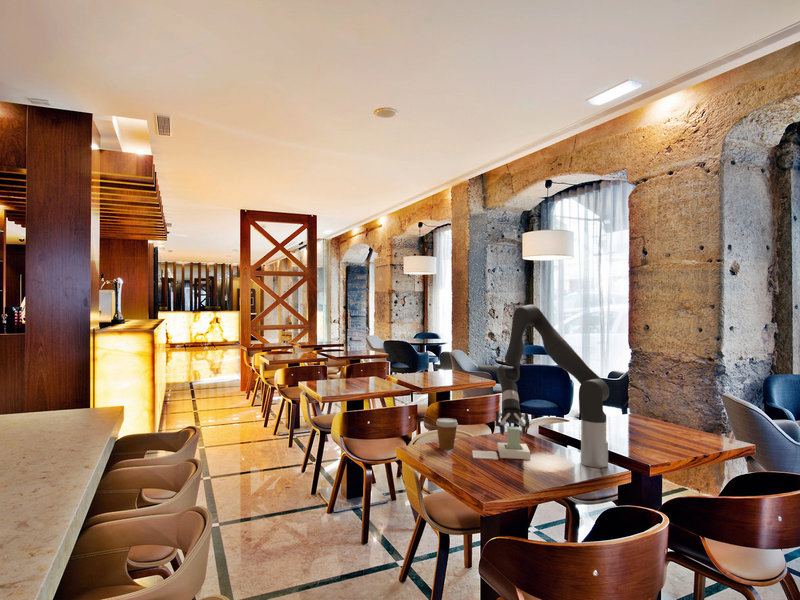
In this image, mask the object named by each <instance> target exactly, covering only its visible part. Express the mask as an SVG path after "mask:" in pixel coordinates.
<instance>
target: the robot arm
mask: <svg viewBox="0 0 800 600" xmlns="http://www.w3.org/2000/svg"><path fill="white" fill-rule="evenodd" d="M511 323H512V324H511V328H510V329H511V330H510V339H509V344H508V347H507V351H506V353H505V356H504V362H505V363H506V364H508V365H505V364H504V365H499V366H498V367H497V369H496V377H497V380H498V382H499V384H500V388H501V407H502V409H501V410H502V412H499V411H496V412H495V422H494V423H495V427H499V433H500V435H501V436H504V435H505V431H504V430H505V428H504V426H505V425H507V424H517V425H518V427H519V428H520V427H521V428H520V429H521V435H522V436H521V437H525V436H526V433H527V430H526V429H529V428H530V418H529V414H528V413H527V412H525V413H521V408H520V399H519V398H520V397H519V393H518V385H517V383H516V382H517V381H518V380H519V379H520V367H521V366H520V365H521V361H522V357H523V353H524V348H525V346H524V340H523V338H524V337H523V335H524V332H525V330H526V328H527V327H530V326H532V327H533V328H534V329H535V330H536V331H537V333H538V334H539V335H540V337H541V341H542V344H543V348H544V350H545V352H546V354H547V355H548V356H549V357H550V359H552V360H553V362H554V363H555V364H556V365H557V366H558V367H560V368H562V369H563V370H564V371H565V372H567V373H568V374H569V375H571V376H572V377H574V378H575V379H576V380H577V382H578V383H579V384H580V386H579V388H578V405H579V406H578V408H579V410H578V411H579V413H580V418H581V421H580V423H581V424H580V426H581V427H580V429H581V430H580V463H581V464H582V465H583V466H586V467H590V468H597V469H599V468H600V469H602V468H608V467H609V442H608V441H607V414H606V413H605V412H604V407H603V405H604V404H603V403H604V401H606V400H607V399H608V398H609V397H610V388H609V386H608V384H607V383H606V382H605V381H604V380H603V379H602V378H601V377H600V376H599V375H597V373H595V371H593V370H592V369H591V368H590V367H589V366H588V365H587V364H586V363H585V362H584V360H583V359H582V358H581V357H580V355H578V353H577V352H576V351H575V349H573V347H572V346H571V345H570V344H569V343H568V341H566V340H565V339H564V338H563V337H562V336H561V335H560V333H559V332H558V331H557V330H556V329H555V327H553V325H552V324H551V323H550V322H549V320H548V319H547V317H546V316H545V315H544V313H543V312H542V310H541V309H540V308H539V307H538V306H536V305H535V304H526V305H522V306H518V307H516V309H515V310H514V312H513V315H512V321H511ZM562 369H561V370H562ZM501 417H502V420H501V421H499V419H501ZM522 419H523V420H524V421H523V420H522Z"/></svg>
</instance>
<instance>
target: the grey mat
mask: <svg viewBox="0 0 800 600" xmlns="http://www.w3.org/2000/svg"><path fill="white" fill-rule="evenodd" d="M471 453H472V459H478V460H480V459H481V460H494V461H499V456H498V453H497V451H492V450H491V451H490V450H489V451H488V450H472V451H471Z"/></svg>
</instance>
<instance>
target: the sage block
mask: <svg viewBox="0 0 800 600" xmlns="http://www.w3.org/2000/svg"><path fill="white" fill-rule="evenodd" d="M506 435H507V437H506V438H507V441H506V443H507V449H517V450H520V444H521V443H520V441H521V428H520V426H511V425H510V426H507V434H506Z"/></svg>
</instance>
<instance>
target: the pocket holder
mask: <svg viewBox="0 0 800 600" xmlns="http://www.w3.org/2000/svg"><path fill="white" fill-rule="evenodd" d="M497 452H499V453H498V455H499V456H498V457H499V459H504V458H505V459H515V460H516V459H519V460H520V459H521V460H531V451H530V449H529V447H528V445H527V443H520V450H517V449H507V442H497Z"/></svg>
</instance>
